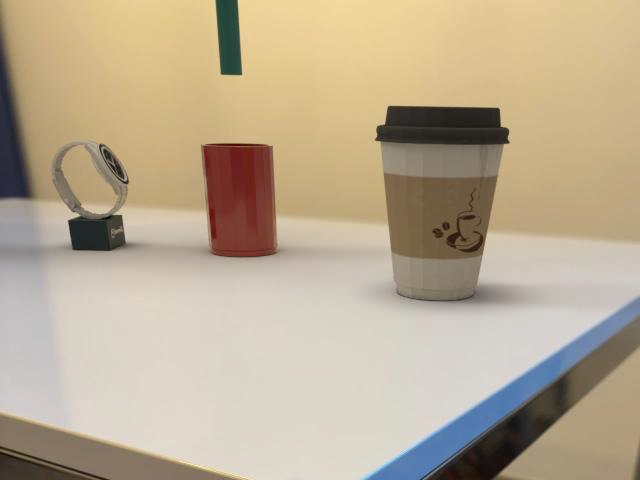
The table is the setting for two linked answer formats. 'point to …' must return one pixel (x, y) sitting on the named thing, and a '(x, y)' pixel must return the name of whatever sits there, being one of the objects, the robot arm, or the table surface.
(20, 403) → the table surface
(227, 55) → the straw
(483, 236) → the coffee cup
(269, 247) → the can
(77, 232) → the watch
